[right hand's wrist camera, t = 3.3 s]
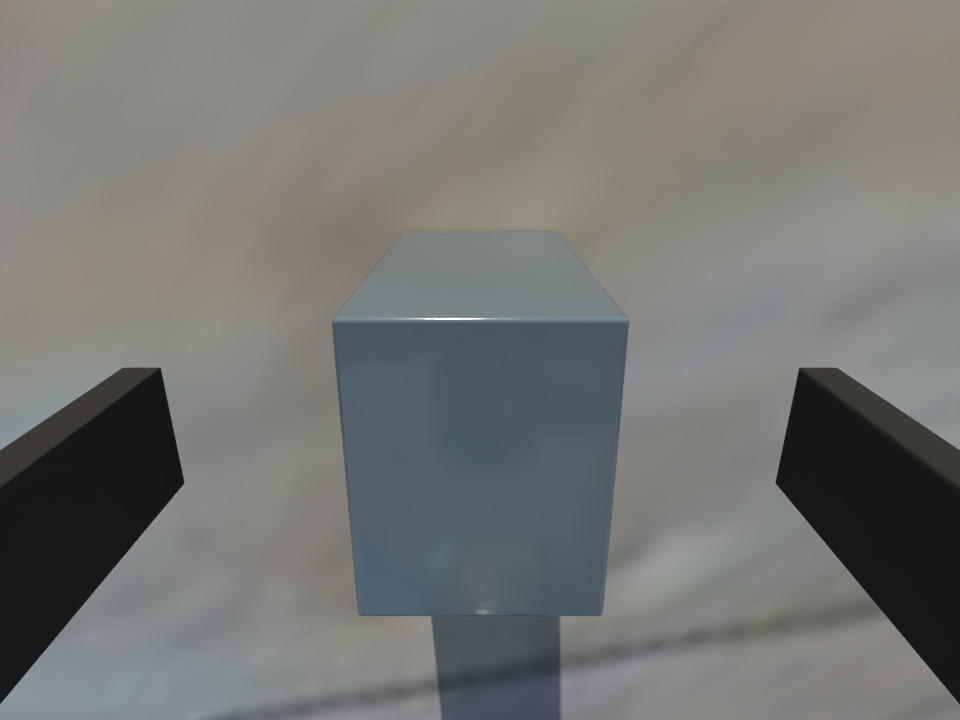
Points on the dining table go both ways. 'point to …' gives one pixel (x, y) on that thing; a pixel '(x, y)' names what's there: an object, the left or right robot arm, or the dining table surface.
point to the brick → (480, 426)
